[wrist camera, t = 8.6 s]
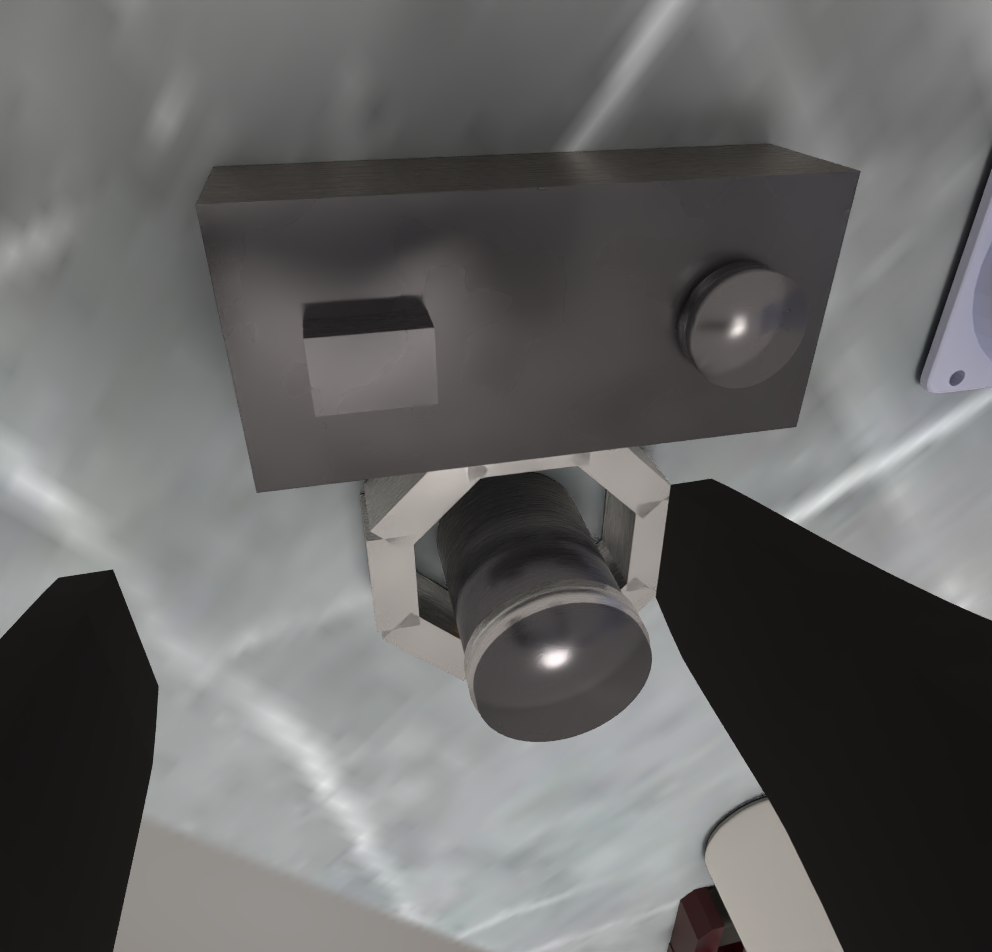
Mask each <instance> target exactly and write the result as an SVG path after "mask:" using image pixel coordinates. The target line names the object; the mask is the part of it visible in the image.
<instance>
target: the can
mask: <svg viewBox="0 0 992 952" xmlns="http://www.w3.org/2000/svg"><path fill="white" fill-rule="evenodd" d="M705 863H706V866H707V868H708V871H709V873H710V875H711V877H712V879H713V882H714V884H715V886H716V888H717V890H718V892H719V894H720V897H721V899H722V901H723V903H724V905H725V907H726V909H727V911H728V914H729V916H730V918H731V920H732V922H733V924H734V926H735V928H736V930H737V933H738V935H739V937H740V939H741V941H742V943H743V945H744V947H745V949H746V952H844V951H843V949H842V947H841V945H840V943H839V940H838V938H837V936H836V934H835V932H834V929H833V927H832V925H831V923H830V921H829V919H828V916H827V914H826V912H825V910H824V908H823V905H822V903H821V901H820V899H819V897H818V895H817V893H816V891H815V889H814V887H813V885H812V883H811V881H810V879H809V877H808V875H807V873H806V871H805V869H804V866H803V864H802V862H801V860H800V858H799V856H798V854H797V852H796V850H795V848H794V846H793V844H792V842H791V840H790V838H789V836H788V834H787V832H786V830H785V828H784V826H783V824H782V823H781V821H780V819H779V817H778V816H777V814H776V812H775V810H774V808H773V807H772V805H771V803H770V801H769V799H768V798H767V797H764V798H761V799H758V800H755V801H753V802H751V803H749V804H747V805H745V806H743V807H741V808H739V809H738V810H736V811H735V812H733V813H732V814H730V815H729V816H728V817H727V818H725V819H724V820H723V821H722V822H721V823H720V824H719V825H718V826H717V827H716V828H715V830H714V831H713V832H712V834H711V836H710V837H709V840H708V842H707V847H706V853H705Z"/></svg>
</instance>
